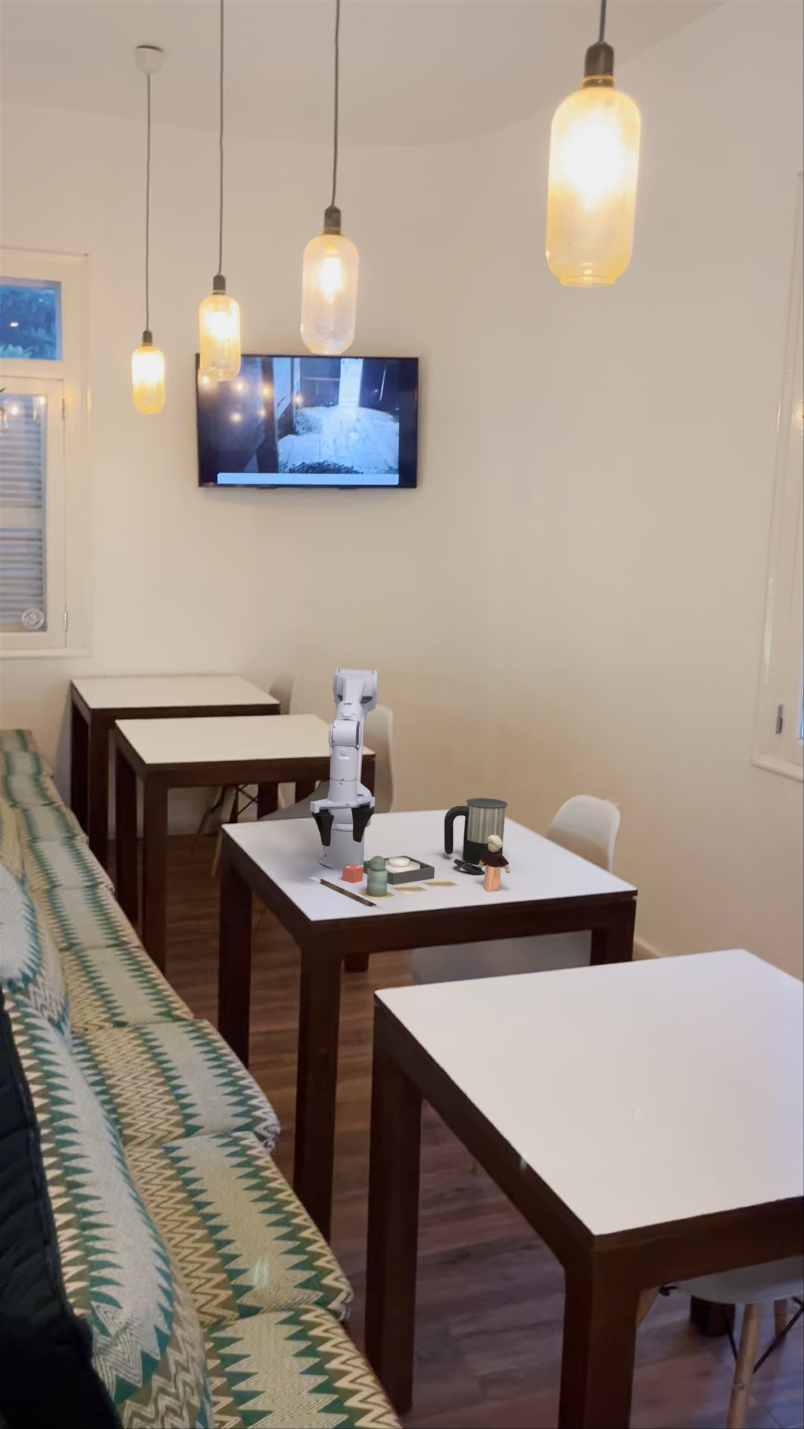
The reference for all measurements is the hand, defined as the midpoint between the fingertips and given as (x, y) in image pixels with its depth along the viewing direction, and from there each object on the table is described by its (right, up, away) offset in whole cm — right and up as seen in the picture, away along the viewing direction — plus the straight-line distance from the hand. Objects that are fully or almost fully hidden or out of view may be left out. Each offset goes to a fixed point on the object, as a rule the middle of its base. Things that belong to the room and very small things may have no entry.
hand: (341, 843), depth 245 cm
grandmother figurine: (+31, -11, 0) cm, 33 cm away
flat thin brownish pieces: (+10, -9, +3) cm, 14 cm away
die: (+2, -9, +3) cm, 10 cm away
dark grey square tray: (+12, -9, +9) cm, 17 cm away
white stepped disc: (+12, -7, +8) cm, 16 cm away
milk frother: (+29, -8, +19) cm, 36 cm away
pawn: (+7, -9, -6) cm, 14 cm away
